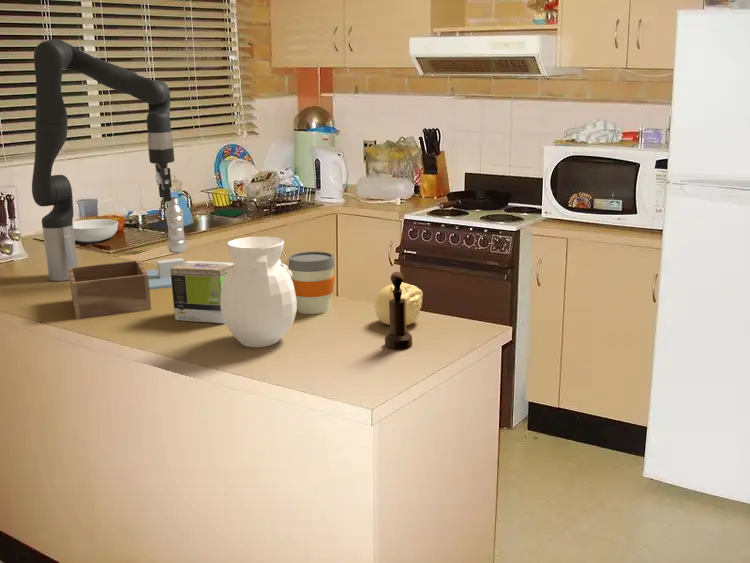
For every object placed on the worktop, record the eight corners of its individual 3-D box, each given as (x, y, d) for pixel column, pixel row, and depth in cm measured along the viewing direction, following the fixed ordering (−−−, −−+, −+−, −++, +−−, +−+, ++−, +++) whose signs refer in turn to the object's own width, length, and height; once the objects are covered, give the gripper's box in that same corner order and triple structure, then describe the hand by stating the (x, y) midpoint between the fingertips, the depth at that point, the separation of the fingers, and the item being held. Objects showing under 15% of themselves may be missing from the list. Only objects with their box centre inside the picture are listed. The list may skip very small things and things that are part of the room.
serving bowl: (110, 245, 326) (108, 227, 324) (56, 246, 326) (54, 229, 325) (126, 234, 346) (124, 217, 344) (75, 235, 346) (73, 219, 345)
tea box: (241, 314, 232) (237, 261, 229) (223, 325, 223) (219, 270, 219) (193, 310, 237) (188, 258, 233) (173, 320, 228) (168, 267, 224)
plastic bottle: (183, 254, 306) (178, 199, 301) (165, 254, 307) (160, 199, 302) (190, 251, 312) (185, 196, 307) (173, 250, 313) (168, 196, 308)
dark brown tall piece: (383, 341, 207) (381, 269, 202) (410, 340, 207) (409, 268, 203) (386, 350, 200) (384, 276, 196) (413, 349, 201) (412, 274, 196)
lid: (132, 277, 279) (130, 257, 277) (200, 269, 287) (198, 250, 285) (141, 293, 259) (139, 272, 257) (213, 284, 267) (212, 263, 265)
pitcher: (305, 348, 203) (300, 245, 197) (228, 357, 198) (220, 252, 192) (290, 325, 221) (285, 231, 214) (219, 334, 216) (211, 237, 209)
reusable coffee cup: (305, 301, 243) (303, 249, 239) (344, 305, 237) (342, 253, 234) (282, 313, 232) (279, 259, 228) (322, 318, 227) (319, 263, 223)
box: (72, 300, 250) (68, 267, 247) (142, 292, 257) (139, 260, 255) (76, 318, 232) (71, 283, 229) (151, 309, 239) (147, 274, 237)
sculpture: (409, 332, 213) (408, 290, 210) (367, 326, 219) (366, 285, 216) (429, 320, 222) (428, 280, 220) (388, 314, 228) (388, 275, 226)
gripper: (145, 145, 267) (150, 197, 271) (151, 149, 254) (156, 203, 259) (169, 144, 270) (173, 195, 274) (176, 148, 257) (181, 201, 261)
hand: (165, 199), depth 266 cm, fingers open, 8 cm apart
